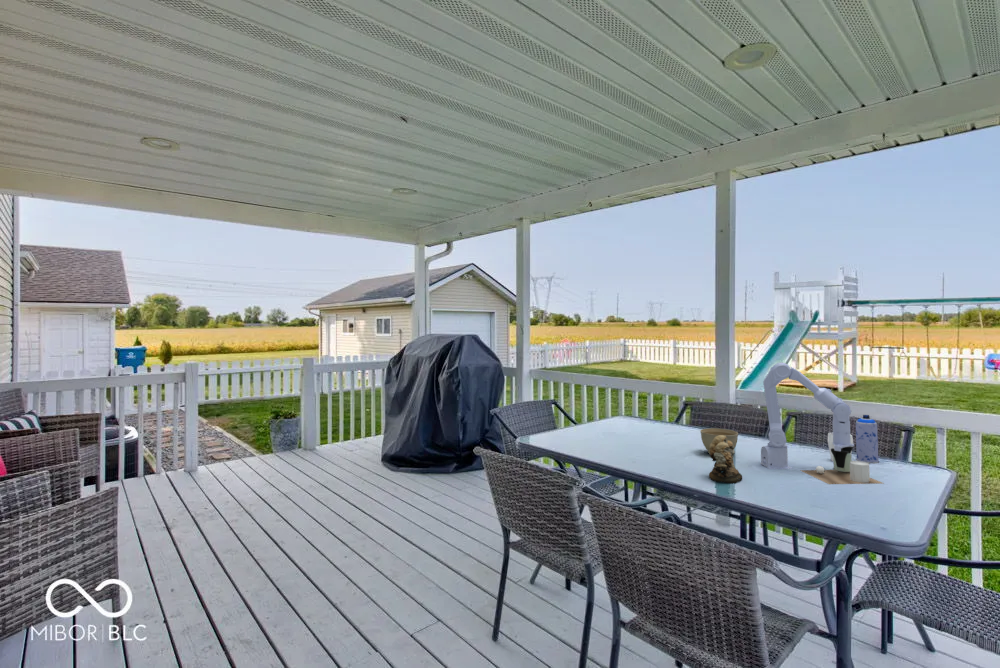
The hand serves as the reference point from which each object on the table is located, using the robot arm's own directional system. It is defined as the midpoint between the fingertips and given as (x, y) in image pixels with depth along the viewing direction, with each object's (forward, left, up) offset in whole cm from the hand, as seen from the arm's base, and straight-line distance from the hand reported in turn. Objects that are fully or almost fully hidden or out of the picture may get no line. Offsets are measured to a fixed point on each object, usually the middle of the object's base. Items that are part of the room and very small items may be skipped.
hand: (842, 465), depth 190 cm
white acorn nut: (-1, -11, -2) cm, 11 cm away
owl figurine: (-48, -4, -3) cm, 48 cm away
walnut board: (-5, -6, -3) cm, 8 cm away
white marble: (-10, -2, -2) cm, 10 cm away
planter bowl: (-35, +32, -3) cm, 48 cm away
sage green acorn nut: (0, 0, -2) cm, 2 cm away
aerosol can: (+22, +17, -3) cm, 28 cm away
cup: (+10, +16, -3) cm, 19 cm away
